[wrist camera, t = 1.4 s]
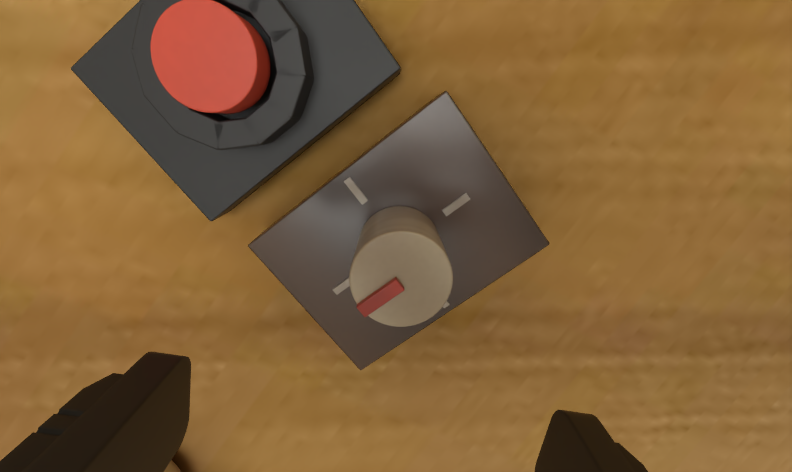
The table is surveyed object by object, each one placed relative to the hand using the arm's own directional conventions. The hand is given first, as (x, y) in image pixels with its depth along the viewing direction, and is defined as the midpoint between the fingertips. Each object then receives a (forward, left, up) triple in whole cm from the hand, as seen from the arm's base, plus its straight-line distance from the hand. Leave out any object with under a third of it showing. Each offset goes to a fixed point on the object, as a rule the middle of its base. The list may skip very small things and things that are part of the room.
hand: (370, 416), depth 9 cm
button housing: (0, -11, -14) cm, 18 cm away
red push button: (0, -11, -11) cm, 15 cm away
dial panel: (-1, 0, -14) cm, 14 cm away
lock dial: (-1, 0, -11) cm, 11 cm away
